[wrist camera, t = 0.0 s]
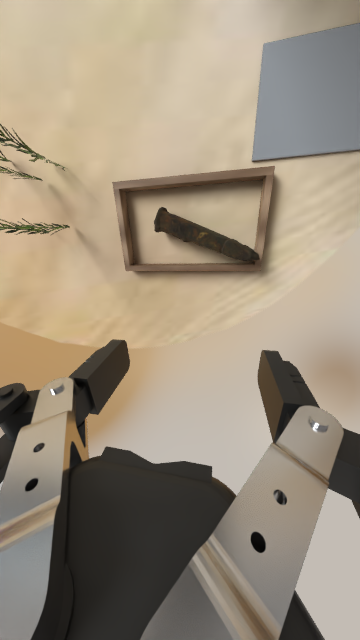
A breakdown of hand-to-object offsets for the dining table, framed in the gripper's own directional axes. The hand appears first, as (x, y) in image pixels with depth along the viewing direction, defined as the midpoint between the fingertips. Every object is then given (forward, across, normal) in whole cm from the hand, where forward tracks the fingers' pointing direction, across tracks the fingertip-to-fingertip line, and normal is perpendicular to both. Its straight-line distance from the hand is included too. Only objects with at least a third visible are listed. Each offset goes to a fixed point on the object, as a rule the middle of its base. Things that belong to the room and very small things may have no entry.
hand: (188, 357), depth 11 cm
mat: (+30, -14, -23) cm, 40 cm away
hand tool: (+32, +5, -8) cm, 34 cm away
